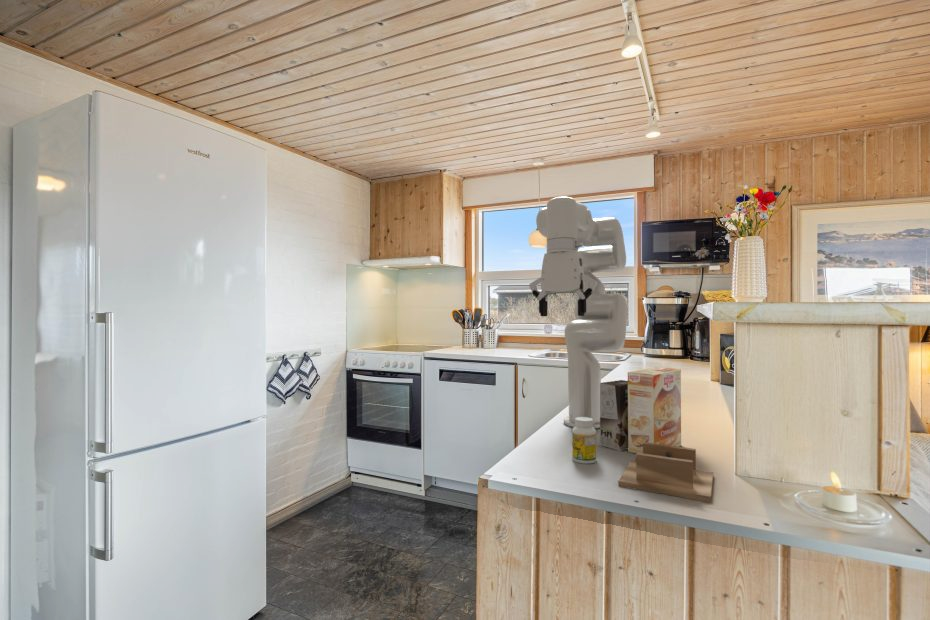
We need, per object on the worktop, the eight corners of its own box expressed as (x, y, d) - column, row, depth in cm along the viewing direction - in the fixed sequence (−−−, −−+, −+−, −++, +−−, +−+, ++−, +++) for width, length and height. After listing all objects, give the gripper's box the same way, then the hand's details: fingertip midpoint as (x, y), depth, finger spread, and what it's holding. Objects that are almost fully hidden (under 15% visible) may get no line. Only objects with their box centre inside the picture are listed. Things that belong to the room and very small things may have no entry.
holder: (631, 464, 102) (631, 437, 102) (713, 477, 94) (712, 447, 94) (618, 486, 90) (617, 455, 90) (710, 502, 82) (710, 468, 82)
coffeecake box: (655, 458, 106) (654, 374, 106) (626, 452, 111) (625, 371, 111) (683, 445, 116) (682, 368, 116) (655, 439, 121) (654, 366, 121)
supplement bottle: (601, 463, 103) (600, 420, 103) (579, 465, 102) (579, 422, 102) (588, 455, 109) (588, 415, 109) (568, 457, 107) (567, 417, 107)
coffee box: (620, 451, 111) (619, 385, 111) (599, 445, 117) (598, 382, 117) (643, 445, 116) (642, 381, 116) (622, 439, 122) (621, 378, 122)
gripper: (600, 247, 113) (601, 316, 113) (535, 252, 122) (535, 316, 122) (592, 242, 107) (592, 315, 106) (523, 248, 116) (524, 316, 115)
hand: (562, 316), depth 114 cm, fingers open, 9 cm apart
